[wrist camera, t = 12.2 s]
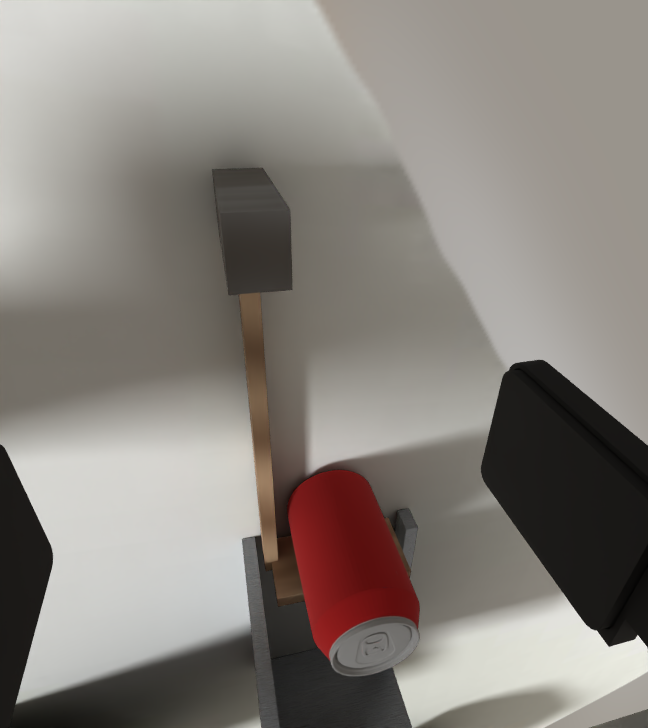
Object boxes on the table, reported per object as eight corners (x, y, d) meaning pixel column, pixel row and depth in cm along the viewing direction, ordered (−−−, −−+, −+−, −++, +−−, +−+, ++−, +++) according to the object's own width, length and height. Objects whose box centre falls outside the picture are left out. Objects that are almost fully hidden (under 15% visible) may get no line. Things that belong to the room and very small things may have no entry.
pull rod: (212, 169, 23) (220, 213, 16) (430, 162, 25) (516, 198, 18) (253, 551, 38) (266, 653, 31) (387, 525, 40) (425, 616, 34)
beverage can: (290, 532, 39) (324, 694, 29) (278, 474, 35) (312, 636, 25) (370, 512, 40) (429, 662, 30) (367, 453, 36) (433, 602, 26)
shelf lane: (241, 539, 38) (274, 854, 23) (408, 508, 40) (536, 772, 25) (258, 667, 48) (287, 940, 33) (389, 636, 51) (470, 875, 36)
